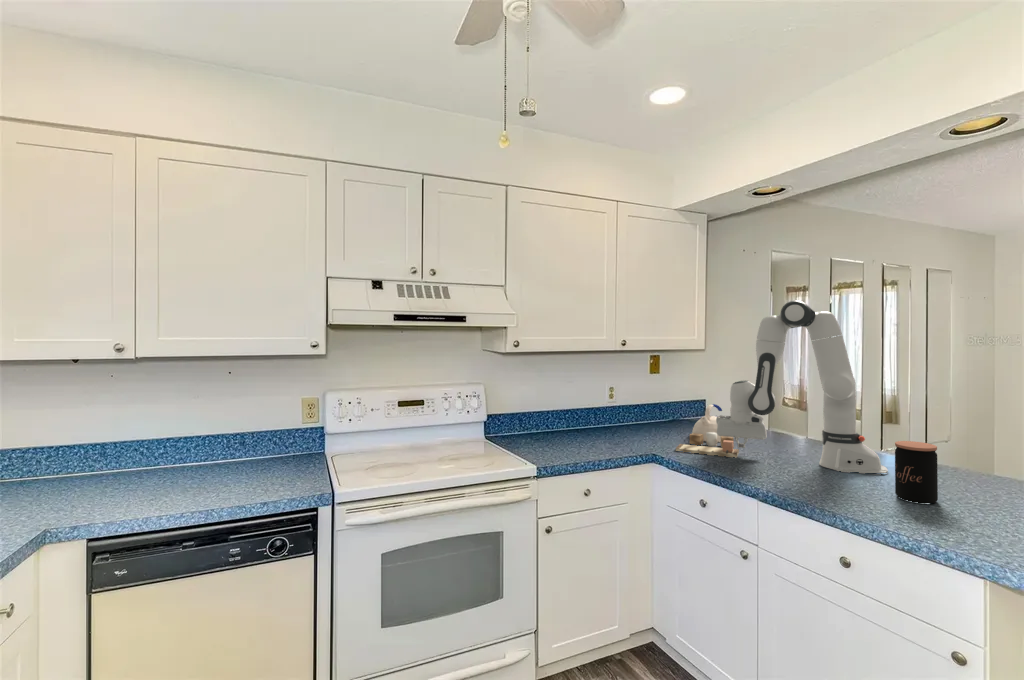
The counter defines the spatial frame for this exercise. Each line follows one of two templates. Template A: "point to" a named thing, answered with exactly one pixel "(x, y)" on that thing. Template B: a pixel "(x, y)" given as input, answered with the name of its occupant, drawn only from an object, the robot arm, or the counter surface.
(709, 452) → the counter board
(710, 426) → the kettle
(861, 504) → the counter surface
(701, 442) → the walnut block
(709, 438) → the grey cylinder
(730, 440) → the walnut block
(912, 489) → the coffee jar
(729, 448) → the counter marker
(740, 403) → the robot arm
